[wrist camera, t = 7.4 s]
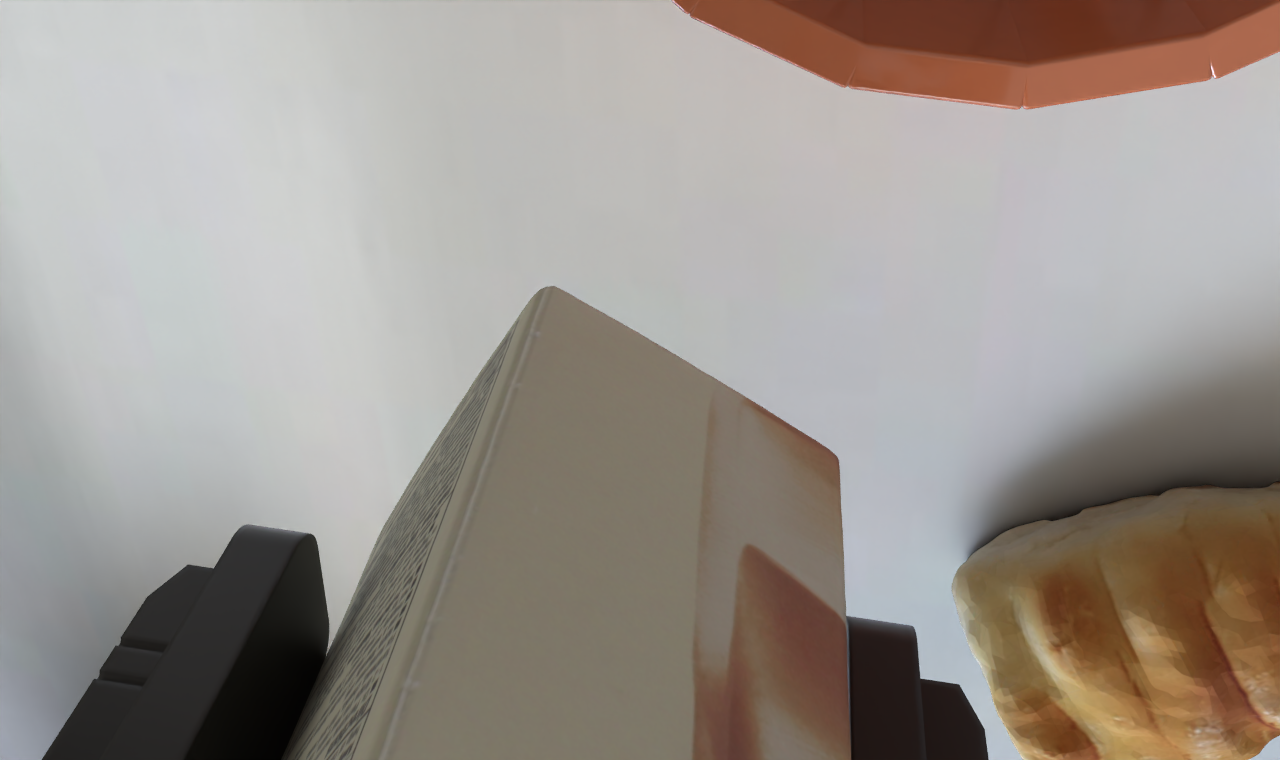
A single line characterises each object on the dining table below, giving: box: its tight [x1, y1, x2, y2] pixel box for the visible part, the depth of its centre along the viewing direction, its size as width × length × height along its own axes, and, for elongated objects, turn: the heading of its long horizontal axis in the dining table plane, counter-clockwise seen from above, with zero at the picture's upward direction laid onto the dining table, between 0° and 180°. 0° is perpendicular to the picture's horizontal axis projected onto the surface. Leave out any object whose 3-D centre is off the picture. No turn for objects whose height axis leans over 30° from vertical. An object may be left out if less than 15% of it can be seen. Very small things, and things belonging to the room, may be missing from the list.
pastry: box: [952, 482, 1280, 760], centre depth 23 cm, size 9×7×4 cm
